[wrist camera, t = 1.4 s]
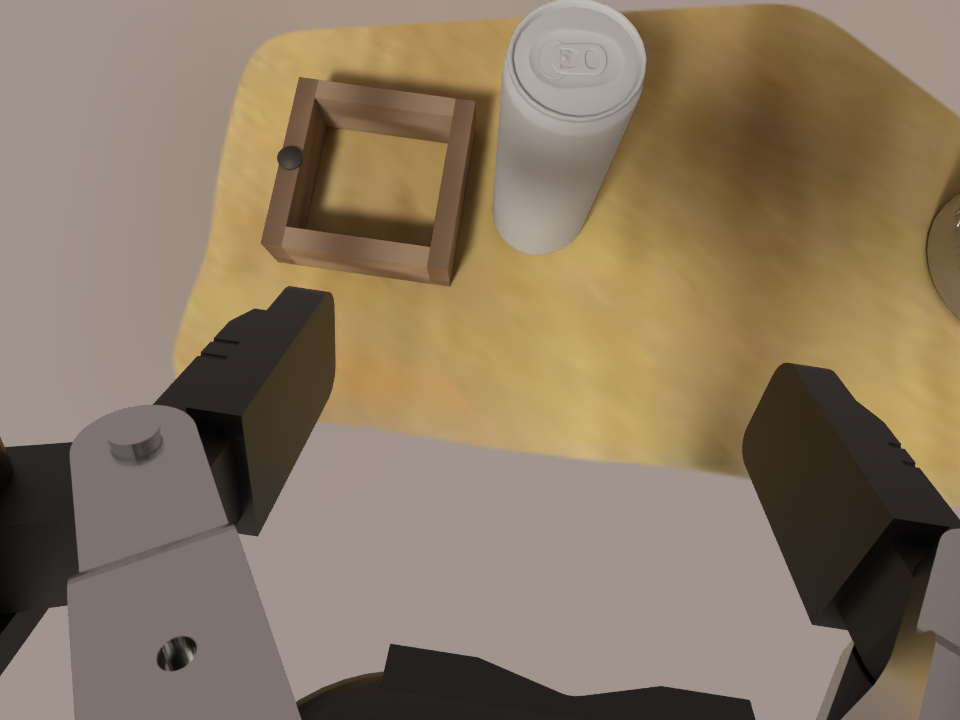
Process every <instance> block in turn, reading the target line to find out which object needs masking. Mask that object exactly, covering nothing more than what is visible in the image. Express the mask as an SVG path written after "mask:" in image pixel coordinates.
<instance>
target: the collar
mask: <svg viewBox="0 0 960 720" xmlns="http://www.w3.org/2000/svg"><path fill="white" fill-rule="evenodd" d="M327 127H334V128H341V129H348V130H356V131H363V132H370V133H377V134H384V135H392V136H399V137H406V138H413V139H421V140H428V141H435V142H442V143H448V147H447V152H446V158H445V164H444V170H443V176H442V181H441V187H440V193H439V199H438V205H437V211H436V216H435V222H434V228H433V234H432V240H431V246H430V247H426V246H419V245H412V244H405V243H398V242H391V241H384V240H377V239H370V238H363V237H356V236H349V235H342V234H334V233H327V232H320V231H313V230H306V229H305V226H306V222H307V217H308V213H309V208H310V203H311V199H312V194H313V190H314V185H315V180H316V176H317V171H318V167H319V162H320V157H321V153H322V148H323V144H324V139H325V134H326V130H327ZM474 135H475V101H470V100H462V99H455V98H448V97H440V96H433V95H426V94H419V93H411V92H404V91H397V90H389V89H382V88H375V87H367V86H360V85H353V84H346V83H338V82H331V81H324V80H316V79H309V78H302V77H299V80H298V85H297V89H296V93H295V98H294V102H293V106H292V111H291V115H290V119H289V124H288V128H287V132H286V136H285V141H284V145H283V149H281V150H280V152H279V153H278V156H277V160H278V163H279V167H278V171H277V175H276V180H275V184H274V188H273V193H272V197H271V201H270V205H269V210H268V214H267V218H266V223H265V227H264V231H263V236H262V240H261V244H262V245H263V246H264V247H265V248H266V249H267V250H268V252H269V253H270V254H271V255H272V256H273V257H274V258H275V259H276V260H277V261H278V262H282V263H289V264H296V265H303V266H310V267H317V268H324V269H331V270H338V271H345V272H352V273H359V274H366V275H373V276H380V277H387V278H394V279H401V280H408V281H415V282H422V283H429V284H436V285H443V286H450V283H451V276H452V270H453V264H454V258H455V252H456V246H457V239H458V233H459V227H460V221H461V215H462V209H463V203H464V196H465V190H466V184H467V178H468V172H469V166H470V159H471V153H472V147H473V141H474Z"/></svg>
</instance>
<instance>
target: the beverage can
mask: <svg viewBox="0 0 960 720" xmlns="http://www.w3.org/2000/svg"><path fill="white" fill-rule="evenodd" d="M646 60H647V58H646V53H645V48H644V43H643V41H642V39H641V37H640V35H639V33H638V31H637V29H636V27H635V26H634V25H633V24H632V23H631V22H630V21H629V20H628V19H627V18H626V17H625V15H623V14H622V13H620V12H619V11H617V10H616V9H614V8H612V7H611V6H609V5H606V4H604V3H601V2H598V1H596V0H555V1H551V2H549V3H546V4H543V5H541V6H539V7H538V8H536V9H535V10H533V11H532V12H530V13H529V14H528V15H527V16H526V17H525V18H524V19H523V20H522V21H521V22H520V24H519V25H518V26H517V27H516V30H515V32H514V34H513V36H512V38H511V40H510V45H509V48H508V50H507V52H506V54H505V60H504V66H503V73H502V85H501V99H500V113H499V127H498V141H497V155H496V169H495V183H494V197H493V218H494V223H495V226H496V228H497V230H498V233H499V234H500V235H501V236H502V238H503V239H504V240H505V241H506V243H508V244H509V245H510V246H512V247H513V248H515V249H516V250H518V251H521V252H523V253H526V254H531V255H545V254H550V253H553V252H555V251H558V250H560V249H562V248H564V247H566V246H567V245H569V244H570V243H572V242H573V241H574V239H575V238H576V237H577V236H578V235H579V234H580V232H581V229H582V227H583V225H584V223H585V220H586V218H587V216H588V214H589V211H590V209H591V207H592V205H593V202H594V200H595V198H596V196H597V193H598V191H599V189H600V187H601V184H602V182H603V180H604V178H605V175H606V173H607V171H608V169H609V166H610V164H611V162H612V160H613V157H614V155H615V153H616V151H617V148H618V146H619V144H620V142H621V139H622V137H623V135H624V133H625V130H626V128H627V126H628V124H629V121H630V119H631V117H632V115H633V112H634V110H635V108H636V105H637V103H638V101H639V98H640V96H641V93H642V91H643V83H644V76H645V70H646Z"/></svg>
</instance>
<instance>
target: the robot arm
mask: <svg viewBox="0 0 960 720" xmlns="http://www.w3.org/2000/svg"><path fill="white" fill-rule="evenodd" d="M927 255H928V264H929V270H930V273H931V276H932V279H933V282H934V285H935V288H936V289H937V291H938V293H939V295H940V296H941V298H942V300H943V301H944V303H945V304H946V306H947V307H948V308H949V309H950V310H951V312H952V313H953V314H954V315H955V316H956V317H957V319H959V320H960V193H959V194H957V195H956V196H954V197H953V198H952V199H951V200H950V201H949V202H948V203H947V204H945V205H944V206H943V208H942V209H941V211H940V212H939V214H938V215H937V216H936V218H935V219H934V222H933V225H932V228H931V230H930V233H929V239H928V248H927ZM334 377H335V313H334V299H333V296H332V294H331V293H330V292H325V291H318V290H312V289H305V288H298V287H292V286H288V287H286V288H285V289H284V290H283V292H282V293H281V294H280V295H279V296H278V298H277V299H276V300H275V301H274V302H273V304H272V305H271V306H270V307H269V308H268V309H267V310H260V309H253V310H251V311H249V312H247V313H245V314H243V315H241V316H239V317H237V318H235V319H233V320H231V321H229V322H228V323H227V325H226V326H225V327H224V328H223V329H222V330H221V331H220V332H219V333H218V334H217V335H216V337H215V338H214V341H213V342H210V343H209V344H208V345H207V346H206V347H205V348H204V350H203V351H202V352H201V356H197V357H196V358H195V359H194V360H193V361H192V363H191V364H190V365H189V366H188V367H187V368H186V369H185V370H184V371H183V372H182V373H181V375H180V376H179V377H178V378H177V379H176V380H175V381H174V382H173V383H172V384H171V385H170V386H169V388H168V389H167V390H166V391H165V392H164V393H163V394H162V395H161V396H160V397H159V399H157V401H156V402H155V403H154V404H153V405H142V406H135V407H129V408H125V409H122V410H118V411H116V412H113V413H110V414H107V415H105V416H103V417H101V418H99V419H97V420H96V421H94V422H93V423H91V424H90V425H89V426H87V427H86V428H85V429H83V430H82V431H81V432H80V433H79V434H78V436H77V437H76V438H75V440H74V442H69V443H56V444H45V445H44V444H43V445H29V446H16V447H4V445H3V442H2V440H1V438H0V675H1V674H2V673H3V671H4V670H5V669H6V667H7V666H8V664H9V663H10V662H11V660H12V659H13V657H14V656H15V655H16V653H17V652H18V650H19V649H20V648H21V646H22V645H23V643H24V642H25V641H26V639H27V638H28V636H29V635H30V634H31V632H32V631H33V629H34V628H35V626H36V625H37V624H38V622H39V621H40V620H41V618H42V617H43V615H44V614H45V613H46V611H47V610H48V608H51V607H59V606H66V605H68V616H69V617H68V618H69V632H70V633H69V634H70V648H71V649H70V650H71V665H72V679H73V680H72V681H73V697H74V713H75V720H755V717H754V713H753V710H752V706H751V703H750V700H746V699H740V698H733V697H727V696H721V695H714V694H708V693H701V692H695V691H688V690H682V689H676V688H670V687H663V686H659V687H650V688H642V689H635V690H627V691H619V692H610V693H602V694H594V695H586V696H569V695H565V694H562V693H559V692H557V691H555V690H552V689H550V688H548V687H545V686H543V685H541V684H538V683H536V682H534V681H531V680H529V679H527V678H525V677H522V676H520V675H517V674H515V673H513V672H511V671H508V670H506V669H503V668H501V667H499V666H497V665H494V664H492V663H490V662H487V661H485V660H483V659H480V658H477V657H471V656H465V655H459V654H452V653H446V652H439V651H433V650H427V649H420V648H414V647H407V646H401V645H395V644H390V647H389V652H388V656H387V661H386V665H385V669H384V672H377V673H369V674H364V675H360V676H356V677H352V678H348V679H344V680H341V681H339V682H336V683H334V684H331V685H328V686H326V687H323V688H321V689H319V690H317V691H315V692H313V693H311V694H309V695H307V696H306V697H304V698H302V699H300V700H298V701H297V702H295V699H294V696H293V693H292V690H291V687H290V685H289V682H288V679H287V676H286V673H285V670H284V667H283V664H282V661H281V658H280V655H279V652H278V650H277V646H276V644H275V641H274V638H273V635H272V632H271V629H270V626H269V623H268V620H267V617H266V614H265V611H264V608H263V605H262V603H261V600H260V597H259V594H258V591H257V588H256V585H255V582H254V579H253V576H252V573H251V570H250V567H249V564H248V562H247V559H246V556H245V553H244V550H243V547H242V544H241V541H240V539H239V535H238V533H240V534H246V535H252V536H258V535H259V533H260V531H261V529H262V527H263V525H264V523H265V522H266V520H267V518H268V515H269V513H270V512H271V509H272V508H273V506H274V504H275V502H276V500H277V498H278V496H279V494H280V492H281V490H282V488H283V486H284V484H285V482H286V481H287V479H288V477H289V475H290V473H291V471H292V469H293V467H294V465H295V463H296V461H297V459H298V457H299V455H300V453H301V451H302V449H303V447H304V445H305V444H306V442H307V440H308V438H309V436H310V434H311V432H312V430H313V428H314V426H315V424H316V422H317V420H318V418H319V416H320V414H321V412H322V410H323V408H324V406H325V404H326V403H327V401H328V399H329V396H330V394H331V390H332V387H333V382H334ZM742 454H743V460H744V464H745V466H746V469H747V471H748V473H749V476H750V478H751V480H752V483H753V485H754V488H755V490H756V492H757V495H758V497H759V500H760V502H761V504H762V507H763V509H764V511H765V514H766V516H767V518H768V521H769V523H770V526H771V528H772V530H773V533H774V535H775V537H776V540H777V542H778V545H779V547H780V550H781V552H782V554H783V556H784V559H785V561H786V564H787V566H788V569H789V571H790V573H791V576H792V578H793V580H794V583H795V585H796V588H797V590H798V592H799V595H800V597H801V599H802V602H803V604H804V607H805V609H806V611H807V614H808V616H809V619H810V621H811V623H812V625H818V626H825V627H831V628H837V629H844V630H848V631H849V634H850V636H851V638H852V641H851V642H850V643H849V645H848V646H847V647H846V648H845V650H843V652H842V654H841V656H840V658H839V661H838V664H837V666H836V669H835V672H834V674H833V677H832V680H831V682H830V685H829V687H828V690H827V693H826V695H825V698H824V700H823V703H822V706H821V708H820V711H819V714H818V716H817V719H816V720H960V520H959V518H958V517H957V516H956V514H955V513H954V512H953V511H952V509H951V508H950V507H949V505H948V504H947V503H946V502H945V500H944V499H943V498H942V496H941V495H940V494H939V492H938V491H937V490H936V489H935V487H934V486H933V485H932V483H931V482H930V481H929V480H928V478H927V477H926V476H925V474H924V473H923V472H922V471H921V469H920V468H916V467H915V462H914V460H913V459H912V458H911V456H910V455H909V454H908V453H907V451H906V450H905V449H901V444H900V442H899V441H898V440H897V438H896V437H895V436H894V435H893V433H892V432H891V431H890V429H889V428H888V427H887V426H886V424H885V423H884V422H883V421H882V420H880V419H879V418H878V417H877V416H875V415H874V414H873V413H871V412H870V411H869V410H868V409H866V408H865V407H864V406H862V405H861V404H860V403H859V402H857V401H856V400H855V399H854V397H853V396H852V395H851V393H850V392H849V391H848V389H847V388H846V387H845V385H844V384H843V383H842V381H841V380H840V379H839V377H838V376H837V375H836V374H835V372H834V371H832V370H830V369H825V368H818V367H812V366H805V365H799V364H792V363H784V364H782V365H780V366H779V367H778V368H777V369H776V371H775V372H774V374H773V376H772V378H771V380H770V382H769V384H768V386H767V388H766V390H765V392H764V394H763V396H762V398H761V400H760V402H759V404H758V406H757V408H756V410H755V412H754V414H753V416H752V418H751V420H750V422H749V424H748V426H747V428H746V431H745V434H744V438H743V445H742Z"/></svg>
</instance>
